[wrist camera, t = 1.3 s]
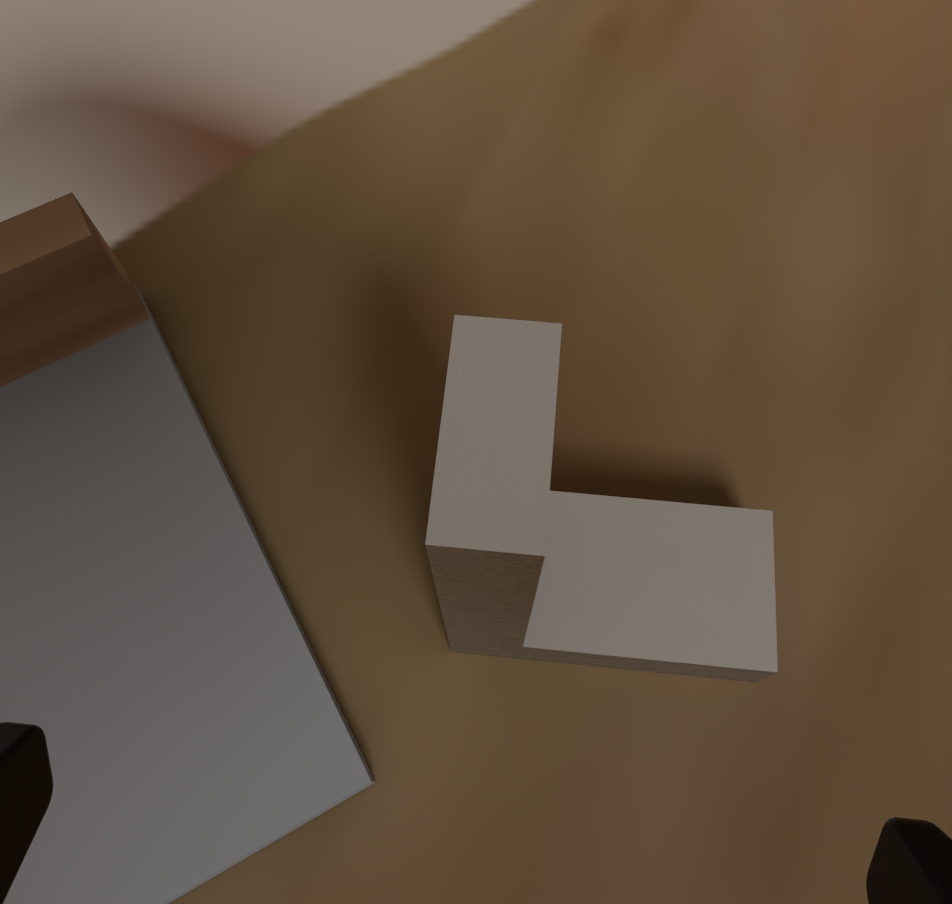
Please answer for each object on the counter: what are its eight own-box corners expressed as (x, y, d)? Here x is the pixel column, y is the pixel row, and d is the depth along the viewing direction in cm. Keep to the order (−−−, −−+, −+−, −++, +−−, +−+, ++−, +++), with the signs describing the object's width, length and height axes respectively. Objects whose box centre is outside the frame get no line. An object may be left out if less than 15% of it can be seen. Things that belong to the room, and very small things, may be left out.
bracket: (755, 682, 22) (957, 595, 12) (450, 651, 22) (425, 544, 13) (751, 531, 23) (929, 353, 14) (466, 505, 23) (454, 314, 14)
